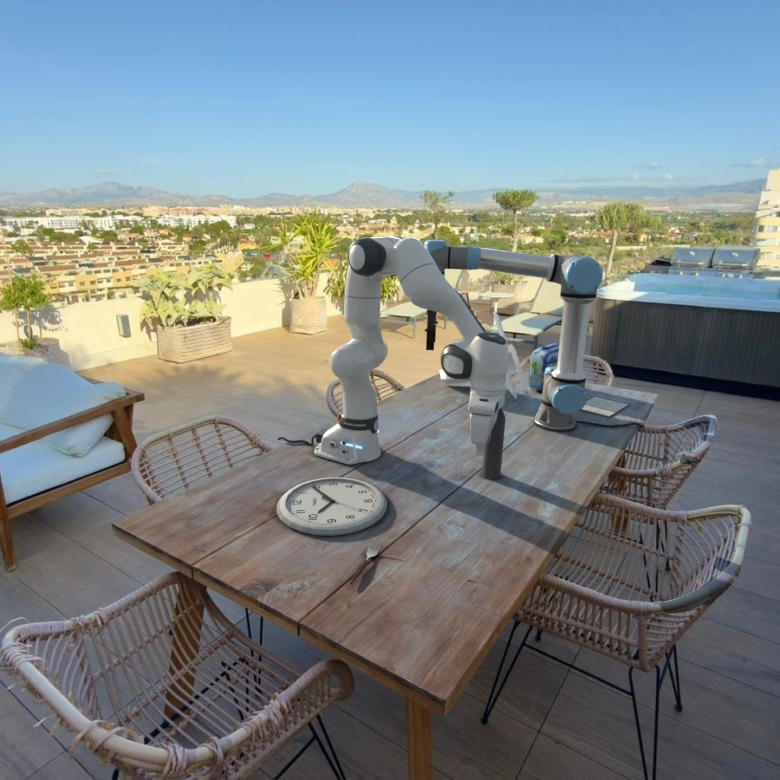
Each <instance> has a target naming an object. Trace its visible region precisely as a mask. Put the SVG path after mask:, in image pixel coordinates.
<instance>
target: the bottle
mask: <svg viewBox="0 0 780 780" xmlns="http://www.w3.org/2000/svg"><path fill="white" fill-rule="evenodd" d="M506 419H507V418H506V414H505V411H504V409H503V407H502V408H500V409H499V411H498V415H497V420H496V422H495V424H494V426H493V429H492V431H491V436H490V441H489V442H486V444H485V445H484V454H483V456H482V458H483V459H482V472H481V475H482V477H483V478H485V479H488V480H498V479H500V478H501V474H502V464H503V463H502V462H503V452H504V440H505V429H506Z"/></svg>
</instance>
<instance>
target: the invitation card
mask: <svg viewBox="0 0 780 780" xmlns="http://www.w3.org/2000/svg"><path fill="white" fill-rule="evenodd" d="M628 406H629V404H627V403H623V402H618V401H614V400H609V399H605V398H601V397H596V396H593V397H592V398H590V399H587V401H586V404H585V406H584V407H583V408H582V409H581V410H580V411H584V412H587V413H593V414H596V415H600V416H604V417H608V418H609V417H611V416H613V415H614V414H616V413H617V412H619V411H621V410H623V409H624V408H626V407H628Z"/></svg>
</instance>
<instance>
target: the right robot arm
mask: <svg viewBox="0 0 780 780" xmlns="http://www.w3.org/2000/svg"><path fill="white" fill-rule="evenodd" d="M423 245H424V247H425V248H426V249H427V250H428V252H429V253H430V255H431V256H432V258H433V260H434V261H435V263H436V265H437V267H438V268H439V270H440V272H441V273H442V275H443V276H444V278H445V279H446V274H445V273H446V272H445V271H446V270H464V271H465V270H468V271H472V270H474V271H475V270H483V271H491V272H497V273H503V274H511V275H518V276H527V277H533V278H540V279H545V281H546V282H548V283H555V284H558V285H560V294H559V297H560V298H561V300H562V301H563V308H562V318H561V326H560V335H559V343H558V344H559V353H558V362H557V366H553V367H547V368H546V369H545V373H544V382H543V391H541V392H542V394H541V402H540V405H539V407H538V408H537V410H536V413H535V417H534V424H535V425H536V426H537V427H539V428H542V429H544V430H549V431H556V432H567V431H572V430H574V429H575V428H576V424H582V425H588V426H589V425H590V426H595V427H596V426H597V427H602V428H620V427H630V426H638V427H639V428H641V429H644V428H645V427H644V426H643V424H641V423H639V422H627V423H617V424H605V423H599V422H592V421H584V420H577V419H576V418H575V417H576V416H575V414H576V413H579V412H580V411H582V410H581V409H582V408H583V407H584V406H585V404H586V401H588V397H587V392H586V391H585V390H586V389H585V388H586V381H587V375H586V374H585V373H584V372H583V367H584V360H585V352H586V344H587V343H586V342H587V337H588V336H587V335H588V327H589V320H590V311H591V304H592V303H593V302H594V301H596V299H597V295H598V294H597V293H598V288H599V287H600V285H601V284H602V281H603V276H604V273H603V268H602V266H601V265H600V263H599V262H598V261H597V260H596V259H594V258H593V257H591V256H587V255H581V254H580V255H579V254H570V255H569V254H568V255H567V254H566V255H565V254H563V255H562V254H554V253H552V254H551V255H550V256H547V255H546V256H545V255H537V254H531V253H522V252H515V251H508V250H500V249H493V248H486V247H479V246H470V245H466V244H462V245H458V246H449V245H447V241H446V240H439V239H428V240H426V241H424V243H423ZM437 314H438V312H435V311H432V310H428V309H426V315H427V320H426V328H424V332H426V337H425V340H426V341H425V342H426V343H425V351H435V343H436V338H437V337H436V336H437V325H439V321H437Z"/></svg>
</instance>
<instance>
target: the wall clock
mask: <svg viewBox="0 0 780 780" xmlns="http://www.w3.org/2000/svg"><path fill="white" fill-rule="evenodd" d="M387 509H388V500H387V498H386V496H385V494H384V493H383V492H382V491H381V490H380V489H379V488H377V487H376V486H374V485H372V484H371V483H369V482H365V481H362V480H359V479H355V478H349V477H338V476H337V477H335V476H333V477H332V476H331V477H322V478H317V479H312V480H307V481H305V482H302V483H299V484H297V485H295V486H293V487H292V488H290V489H288V490H287V491H286V492H285V493H284V494H283V495H281V496H280V498H279V499H278V502H277V503H276V515H277V517H278V518H279V520H280V521H281V522H282V523H283V524H285V525H286V526H287V527H288V528H290V529H293V530H295V531H297V532H299V533H303V534H308V535H312V536H327V537H328V536H329V537H331V536H332V537H333V536H342V535H350V534H352V533H356V532H361V531H363V530H366V529H368V528H369V527H372V526H373V525H375V524H376V523H378V522H379V521H380V520H381V519H382V518H383V517H384V516H385V514H386V512H387Z"/></svg>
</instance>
